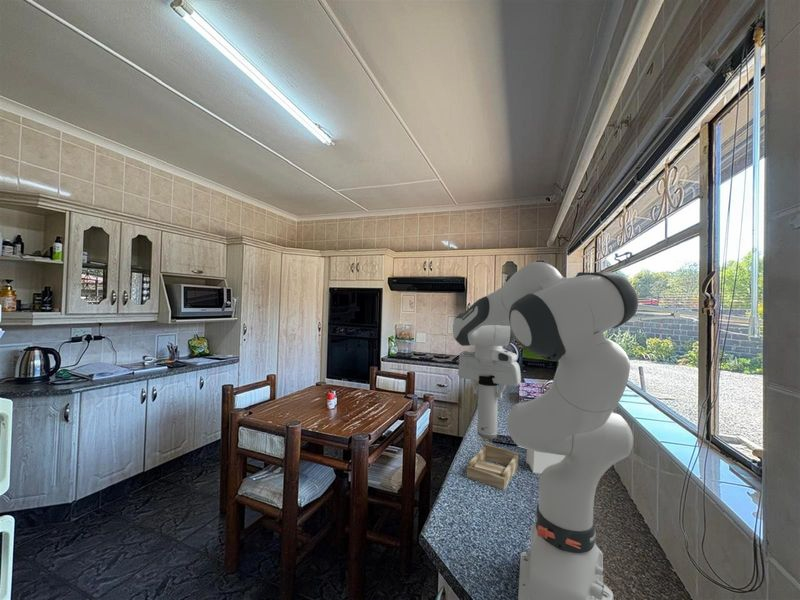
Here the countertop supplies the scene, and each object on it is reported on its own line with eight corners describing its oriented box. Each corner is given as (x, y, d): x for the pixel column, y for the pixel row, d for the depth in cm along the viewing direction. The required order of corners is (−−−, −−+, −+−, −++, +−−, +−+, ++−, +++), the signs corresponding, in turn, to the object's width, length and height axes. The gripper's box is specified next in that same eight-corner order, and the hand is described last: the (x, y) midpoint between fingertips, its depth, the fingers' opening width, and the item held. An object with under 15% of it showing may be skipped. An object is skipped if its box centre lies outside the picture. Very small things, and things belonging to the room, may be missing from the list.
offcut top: (500, 479, 107) (500, 473, 107) (474, 472, 111) (474, 466, 111) (503, 472, 111) (503, 467, 111) (477, 466, 115) (477, 460, 115)
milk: (558, 464, 125) (559, 398, 125) (568, 480, 113) (569, 407, 114) (526, 461, 127) (527, 396, 127) (532, 476, 116) (534, 405, 116)
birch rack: (504, 494, 104) (504, 472, 104) (466, 481, 111) (467, 460, 111) (517, 471, 119) (518, 452, 119) (484, 461, 126) (484, 443, 126)
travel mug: (483, 440, 99) (484, 376, 100) (474, 432, 106) (475, 372, 107) (501, 438, 101) (502, 375, 101) (491, 431, 107) (492, 371, 108)
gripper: (455, 351, 108) (454, 392, 107) (517, 357, 96) (516, 403, 95) (463, 349, 113) (462, 388, 112) (522, 355, 101) (521, 399, 101)
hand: (487, 395), depth 104 cm, fingers closed on travel mug, 6 cm apart
